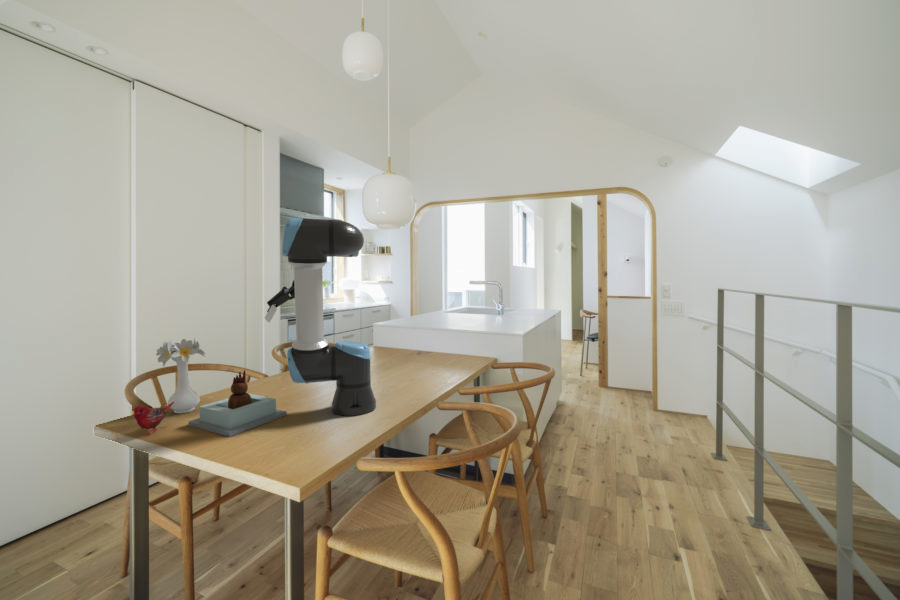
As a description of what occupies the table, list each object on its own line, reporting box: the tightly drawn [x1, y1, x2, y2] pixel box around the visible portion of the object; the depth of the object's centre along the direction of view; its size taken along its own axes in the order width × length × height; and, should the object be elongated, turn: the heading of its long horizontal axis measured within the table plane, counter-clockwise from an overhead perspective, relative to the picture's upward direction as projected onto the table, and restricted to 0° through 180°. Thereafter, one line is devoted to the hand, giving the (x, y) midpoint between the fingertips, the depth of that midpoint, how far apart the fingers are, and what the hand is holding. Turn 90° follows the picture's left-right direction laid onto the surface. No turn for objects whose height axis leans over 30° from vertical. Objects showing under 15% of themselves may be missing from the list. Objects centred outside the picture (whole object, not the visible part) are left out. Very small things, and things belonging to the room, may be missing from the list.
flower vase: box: [155, 338, 206, 414], centre depth 135 cm, size 13×18×25 cm
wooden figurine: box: [228, 370, 252, 409], centre depth 126 cm, size 7×6×15 cm
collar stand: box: [188, 392, 287, 438], centre depth 127 cm, size 20×20×6 cm
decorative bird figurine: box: [133, 402, 174, 437], centre depth 118 cm, size 3×18×10 cm, turn 4°
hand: (283, 320), depth 148 cm, fingers open, 13 cm apart
